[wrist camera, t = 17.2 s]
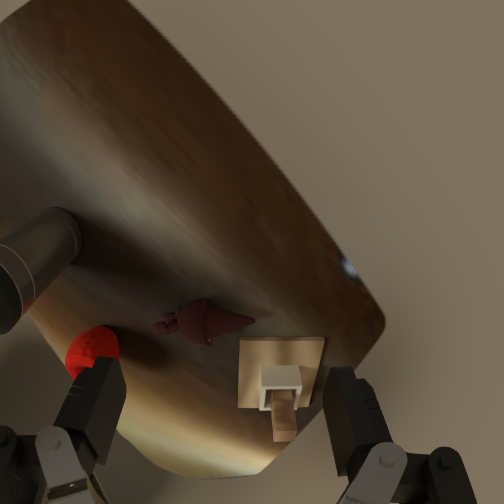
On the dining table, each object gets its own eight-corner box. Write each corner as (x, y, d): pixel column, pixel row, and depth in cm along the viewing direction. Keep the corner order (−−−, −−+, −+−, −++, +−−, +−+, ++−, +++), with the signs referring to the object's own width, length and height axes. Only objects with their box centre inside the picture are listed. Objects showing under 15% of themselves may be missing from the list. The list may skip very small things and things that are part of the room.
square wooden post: (269, 387, 55) (273, 441, 44) (270, 375, 53) (275, 431, 42) (286, 387, 55) (294, 440, 44) (289, 375, 53) (297, 430, 43)
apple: (77, 313, 50) (51, 353, 40) (121, 316, 50) (99, 359, 40) (91, 351, 53) (70, 392, 44) (132, 355, 54) (116, 399, 44)
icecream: (250, 304, 42) (144, 307, 43) (255, 354, 43) (153, 353, 44) (255, 288, 48) (161, 292, 50) (258, 333, 50) (168, 334, 51)
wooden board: (237, 403, 59) (237, 407, 58) (240, 336, 52) (239, 340, 51) (307, 403, 60) (308, 406, 59) (323, 336, 52) (324, 340, 51)
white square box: (258, 389, 56) (259, 410, 52) (260, 365, 53) (261, 386, 49) (293, 389, 56) (296, 409, 52) (298, 365, 54) (302, 385, 49)
